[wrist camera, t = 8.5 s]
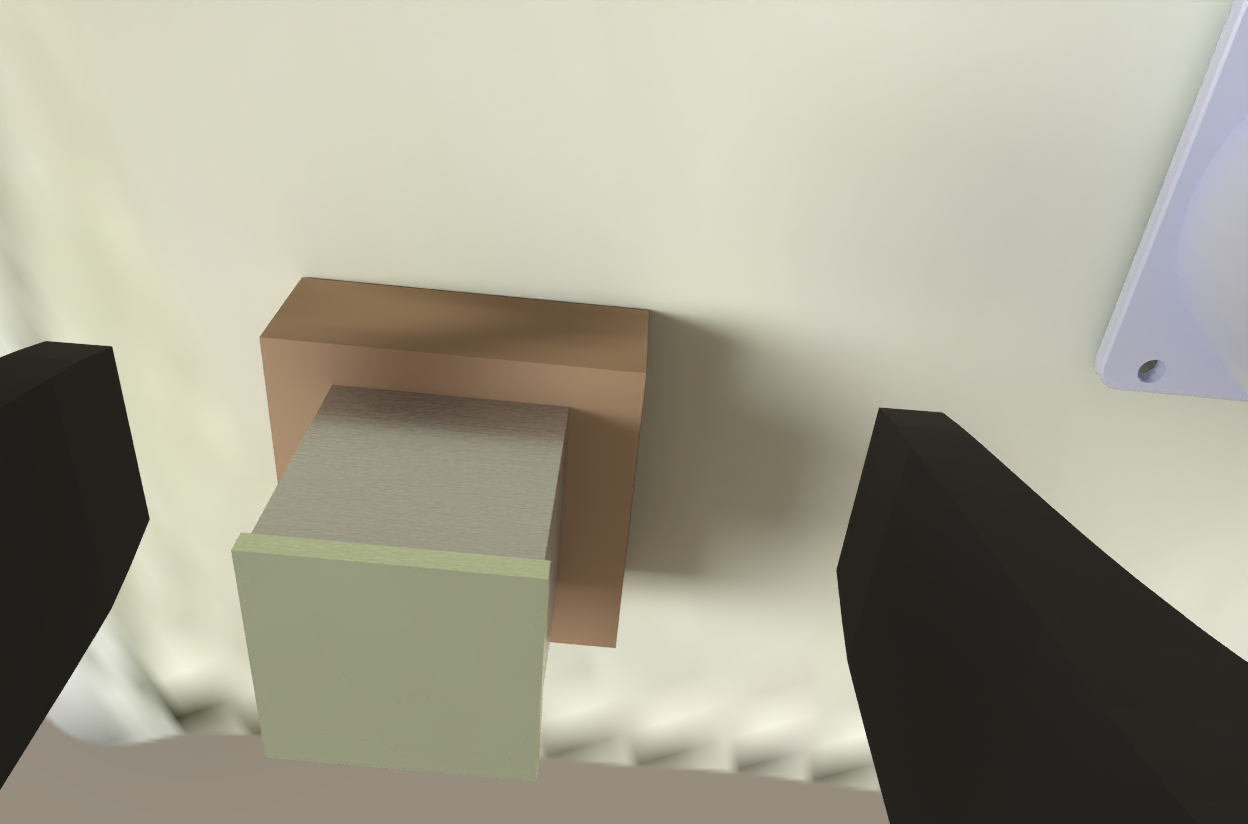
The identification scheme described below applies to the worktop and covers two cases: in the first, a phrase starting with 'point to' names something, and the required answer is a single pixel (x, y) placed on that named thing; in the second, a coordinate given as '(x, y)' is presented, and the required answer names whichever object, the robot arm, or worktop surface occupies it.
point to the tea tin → (408, 584)
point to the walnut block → (487, 369)
